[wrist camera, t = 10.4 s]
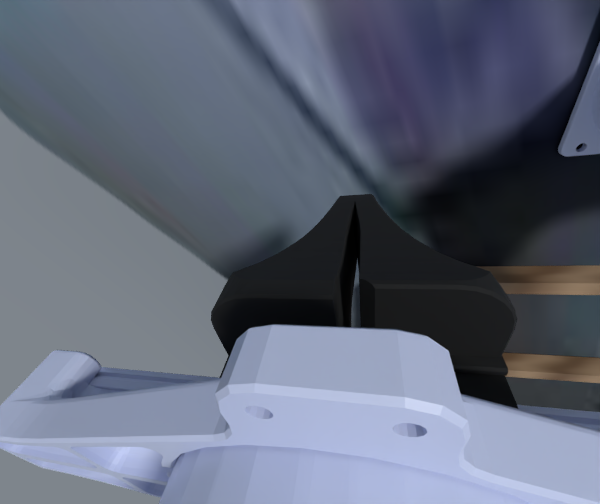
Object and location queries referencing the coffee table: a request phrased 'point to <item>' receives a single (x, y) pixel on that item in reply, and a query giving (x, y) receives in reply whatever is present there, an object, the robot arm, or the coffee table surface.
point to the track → (550, 282)
